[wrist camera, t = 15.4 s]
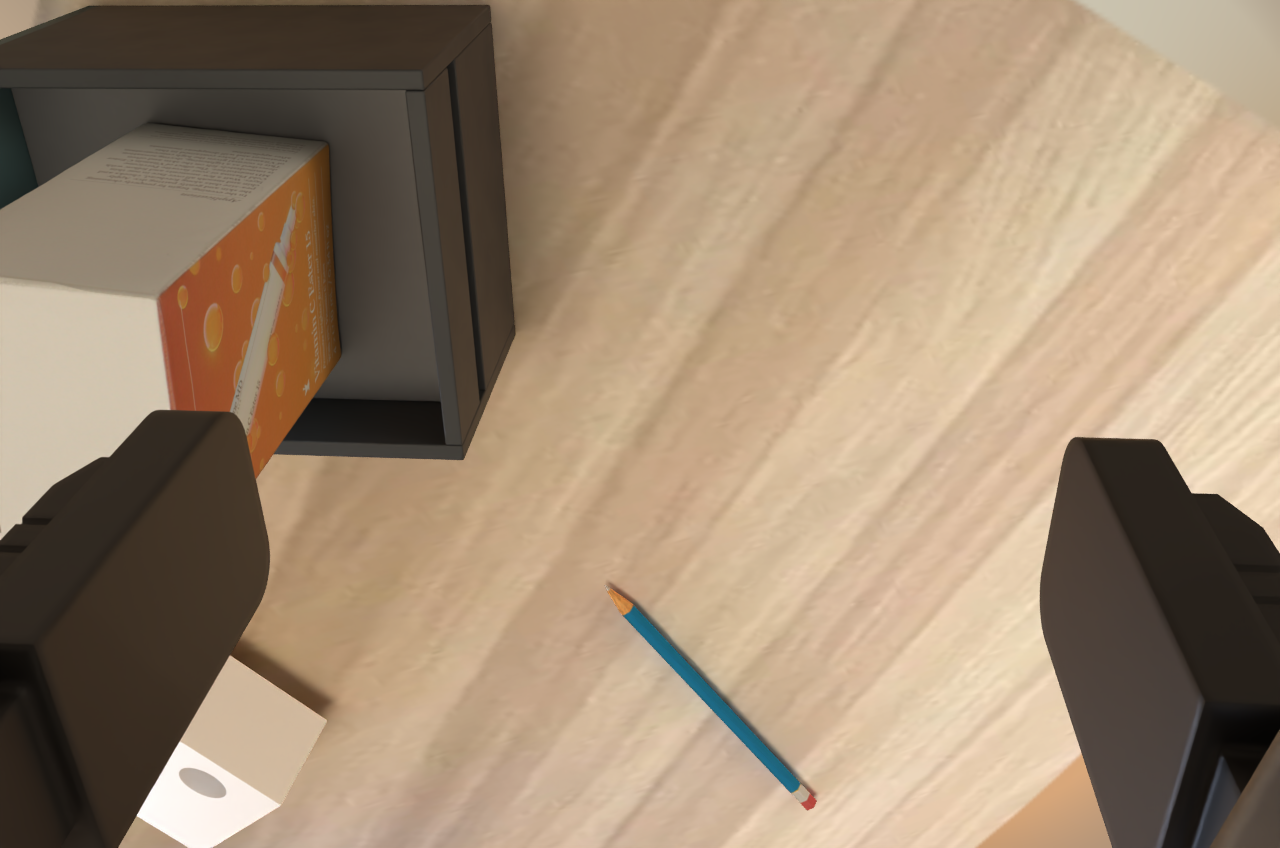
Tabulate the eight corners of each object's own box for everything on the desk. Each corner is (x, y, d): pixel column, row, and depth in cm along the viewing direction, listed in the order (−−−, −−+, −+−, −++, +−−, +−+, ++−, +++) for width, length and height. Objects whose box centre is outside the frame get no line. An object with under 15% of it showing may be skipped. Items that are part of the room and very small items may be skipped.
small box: (345, 357, 42) (195, 579, 31) (172, 338, 42) (-40, 550, 31) (334, 135, 38) (157, 296, 27) (143, 115, 38) (-114, 266, 27)
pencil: (803, 802, 61) (804, 812, 60) (598, 584, 55) (596, 593, 54) (816, 796, 61) (817, 806, 60) (611, 576, 55) (610, 585, 54)
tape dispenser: (-45, 589, 60) (-203, 761, 53) (10, 508, 54) (-160, 690, 47) (246, 775, 65) (140, 956, 58) (327, 720, 59) (220, 916, 52)
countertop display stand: (490, 4, 42) (361, 127, 29) (515, 335, 49) (420, 565, 35) (87, 5, 44) (-223, 123, 30) (164, 327, 50) (-60, 547, 36)
